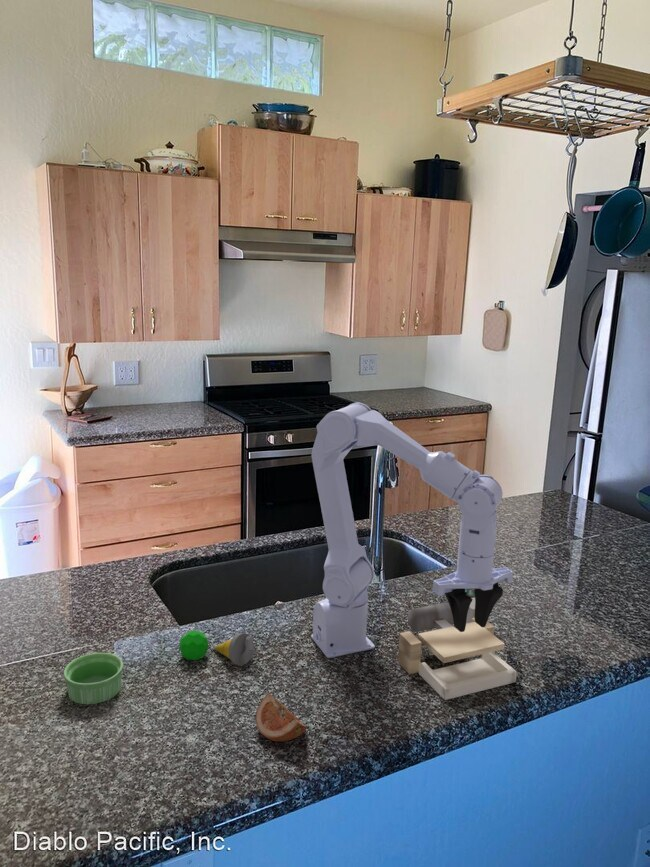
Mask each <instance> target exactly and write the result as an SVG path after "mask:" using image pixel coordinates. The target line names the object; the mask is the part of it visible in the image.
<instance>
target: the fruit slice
mask: <svg viewBox="0 0 650 867" xmlns="http://www.w3.org/2000/svg"><path fill="white" fill-rule="evenodd" d="M255 725H256V727H257V730H258V731H259V732H260V734H261V735H262V736H263V737H265V738H266V739H269V741H273V742H287V741H292V740H294V739H295V738H298V737H300V736H301V735H303V733H305V732H306V731H307V728H308V727H307V726H305V724H304V723H303V722H302V720H300V719H299V718H298V717H297V716H296V715H295V714H294V713H293V712H292V711H291V710H289V709H288V708H287V707H286V706H285V704H283V703H282V702H281V701H279V700H278V699H277V698H276V697H275V696H274V695H273V694H271V693H270V692H268V693H266V695H265V696H264V697H263V698H262V700H261V701H260V703H259V705H258V707H257V709H256V713H255Z"/></svg>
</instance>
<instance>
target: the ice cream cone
mask: <svg viewBox="0 0 650 867" xmlns="http://www.w3.org/2000/svg"><path fill="white" fill-rule="evenodd" d="M213 649H214V650H216V651H217V652H219V653H220V654H221V655H223V656H225V657H226V658H228V659H230V661H231V663H232V664H234V666H240V667H242V666H244V665H246V664H247V665H248V663H249V662H250V661H252V658H253V656H254V654H255V653H256V651H257V650H256V649H255V646H254V638H253V636H252V635H250V634H248V633H243V632H242V633H236V634H234V636H233V637H232V638H230V639H229V640H227V641H224V642H222V643H220V644H217V645H216V646H214V647H213Z"/></svg>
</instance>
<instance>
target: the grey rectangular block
mask: <svg viewBox="0 0 650 867" xmlns="http://www.w3.org/2000/svg"><path fill="white" fill-rule="evenodd" d="M472 599H473V600H472V602H471V604H470V606H469V609H468V613H467V620H466V623H471V622H472V618H475V597H474V598H472ZM489 620H490V617H489V618H488V622H489Z"/></svg>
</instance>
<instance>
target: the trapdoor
mask: <svg viewBox="0 0 650 867" xmlns="http://www.w3.org/2000/svg"><path fill="white" fill-rule="evenodd" d="M407 622H408V625H409V627H410V630H412V631H413V632H414V633H417V632H420V633H417V634H418V635H417V639H418V640H420V641H421V642H422V645H424V647H426V648H427V649H428V650H429V651H430V652H431V653H432V654H433V655H434V656H435V657H437V659H439V661H441V663H443V664H446V663H447V664H448V663H451V662H454V661H458V660H463V659H468V658H472V657H476V656H480V655H481V654H485V653H489V652H494V653H495V652H497V651H503V650H505V645H506V644H505V643H504V642H503V641H502V640H500V639H499V638H498V637H497V636H496V635H495V634H494V635H493V634H492V633H490V632H489V631H488V630H487V629H485V628H484V627H481V626H480V625H478V624H477V623H476V622H471V623H466V627H465V631H464V632H460V631H459V630H457V629H456V628H455V627H454V622H453V616H452V612H451V608H450V605H449V602H448V601H447V602H441V603H437V604H431V605H426V606H425V605H424V606H422V607H416V608H411V609H409V610H408V613H407ZM432 629H433V630H432ZM427 630H430V631H427ZM422 631H425V632H422Z"/></svg>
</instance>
